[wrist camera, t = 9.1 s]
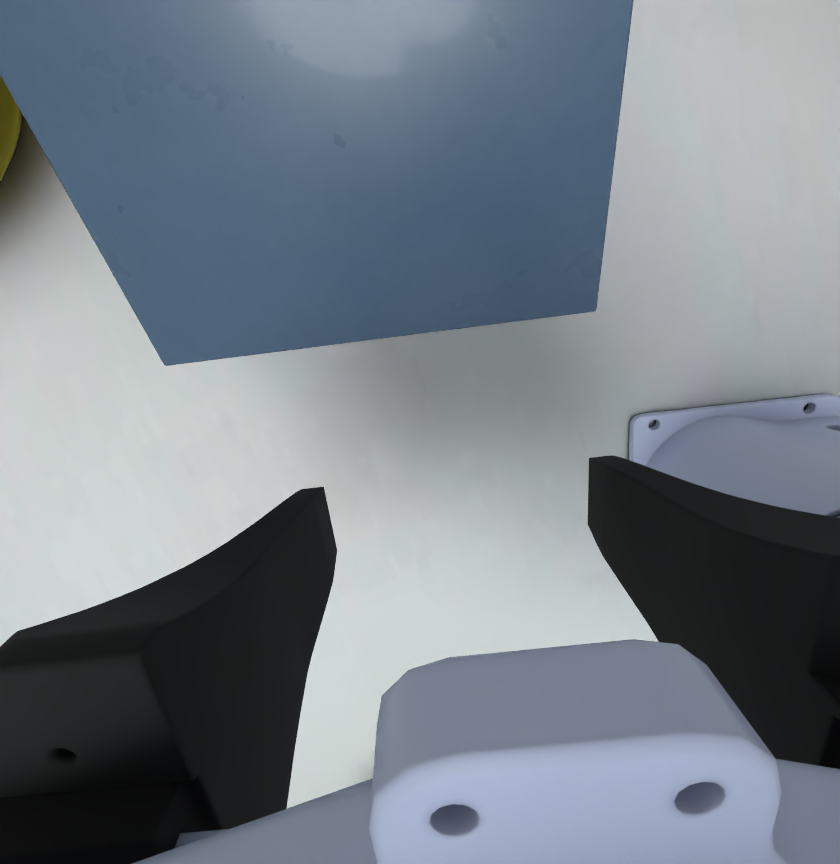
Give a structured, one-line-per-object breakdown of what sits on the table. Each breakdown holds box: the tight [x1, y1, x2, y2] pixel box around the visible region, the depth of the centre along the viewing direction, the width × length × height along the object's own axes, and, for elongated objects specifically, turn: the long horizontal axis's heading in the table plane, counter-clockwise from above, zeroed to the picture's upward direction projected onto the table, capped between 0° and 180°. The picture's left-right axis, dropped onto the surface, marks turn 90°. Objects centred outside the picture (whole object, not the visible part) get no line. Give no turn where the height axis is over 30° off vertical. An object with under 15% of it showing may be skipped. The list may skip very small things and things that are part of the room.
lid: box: [0, 0, 633, 366], centre depth 10 cm, size 13×15×4 cm
